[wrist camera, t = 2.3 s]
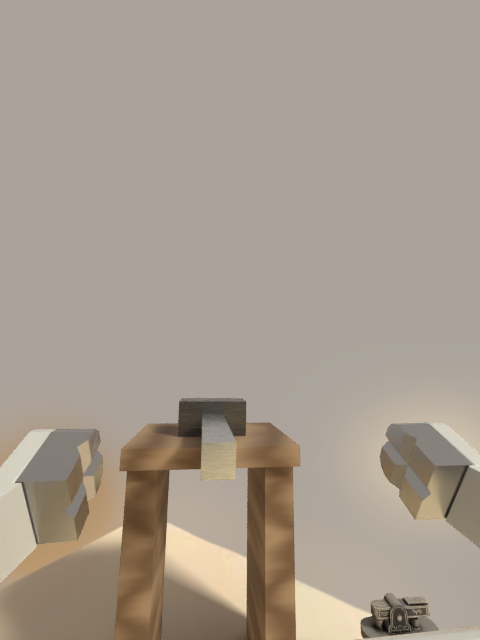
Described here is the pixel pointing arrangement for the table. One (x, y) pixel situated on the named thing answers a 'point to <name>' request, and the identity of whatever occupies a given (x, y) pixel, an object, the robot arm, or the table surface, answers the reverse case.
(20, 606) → the table surface
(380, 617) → the lighter
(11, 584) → the table surface
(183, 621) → the table surface
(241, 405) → the steel t handle
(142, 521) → the walnut shelf
